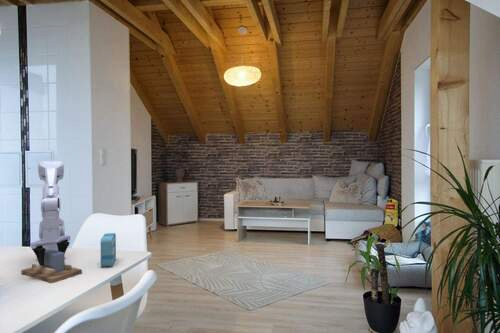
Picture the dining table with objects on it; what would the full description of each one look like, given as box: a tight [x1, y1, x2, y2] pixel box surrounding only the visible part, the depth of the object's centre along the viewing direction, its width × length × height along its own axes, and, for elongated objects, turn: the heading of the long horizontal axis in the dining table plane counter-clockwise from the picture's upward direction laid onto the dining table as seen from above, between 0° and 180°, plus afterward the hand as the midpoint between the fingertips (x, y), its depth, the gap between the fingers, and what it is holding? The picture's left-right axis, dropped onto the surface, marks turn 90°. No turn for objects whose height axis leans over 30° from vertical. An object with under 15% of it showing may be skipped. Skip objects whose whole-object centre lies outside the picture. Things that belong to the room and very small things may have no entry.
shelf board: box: [20, 263, 83, 284], centre depth 135 cm, size 20×12×4 cm, turn 61°
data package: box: [100, 232, 117, 268], centre depth 148 cm, size 12×4×12 cm, turn 15°
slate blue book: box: [40, 249, 66, 273], centre depth 135 cm, size 10×4×7 cm, turn 61°
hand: (51, 262), depth 135 cm, fingers open, 7 cm apart
